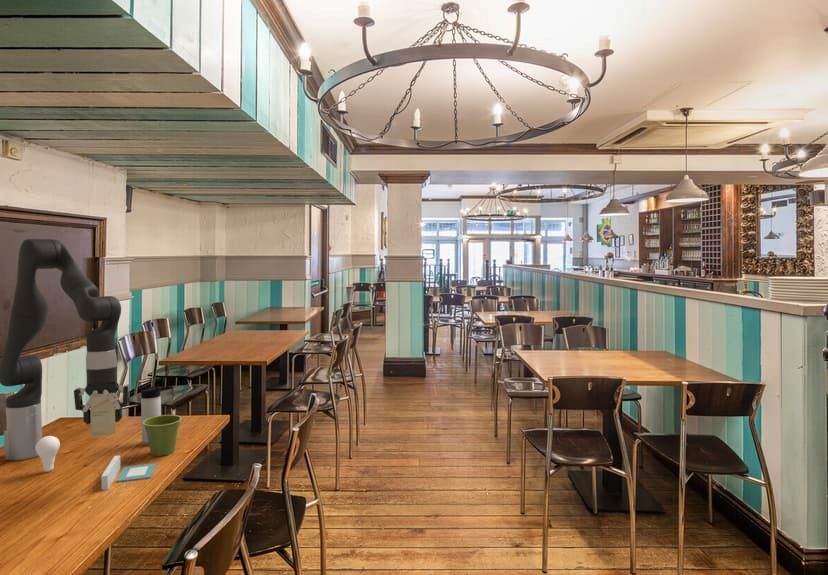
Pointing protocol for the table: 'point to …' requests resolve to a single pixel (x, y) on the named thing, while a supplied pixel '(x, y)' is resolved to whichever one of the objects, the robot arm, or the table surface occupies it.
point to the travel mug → (149, 407)
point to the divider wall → (110, 472)
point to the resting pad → (137, 472)
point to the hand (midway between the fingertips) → (103, 422)
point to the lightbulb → (47, 451)
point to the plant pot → (162, 433)
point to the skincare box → (102, 415)
